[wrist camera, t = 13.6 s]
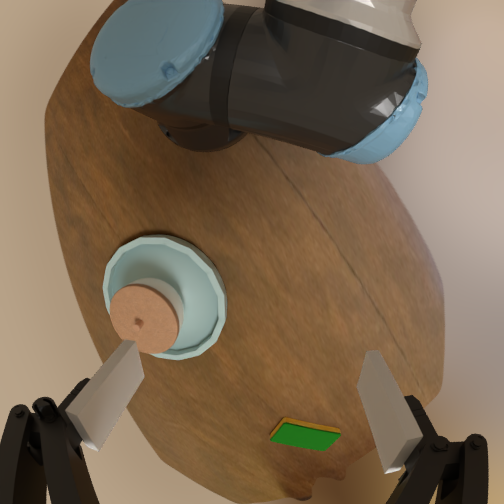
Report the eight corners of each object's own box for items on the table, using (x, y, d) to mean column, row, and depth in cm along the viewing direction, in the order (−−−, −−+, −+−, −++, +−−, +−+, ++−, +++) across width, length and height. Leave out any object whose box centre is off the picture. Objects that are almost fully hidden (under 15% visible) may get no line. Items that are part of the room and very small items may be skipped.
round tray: (104, 234, 41) (95, 237, 39) (225, 234, 40) (222, 238, 37) (122, 343, 46) (116, 350, 44) (229, 356, 45) (227, 364, 42)
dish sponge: (323, 444, 50) (324, 451, 48) (269, 433, 50) (269, 441, 48) (340, 427, 49) (341, 434, 46) (284, 415, 48) (284, 423, 46)
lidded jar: (174, 340, 44) (154, 373, 35) (123, 303, 43) (95, 329, 34) (205, 295, 41) (188, 324, 32) (148, 254, 40) (118, 273, 31)
